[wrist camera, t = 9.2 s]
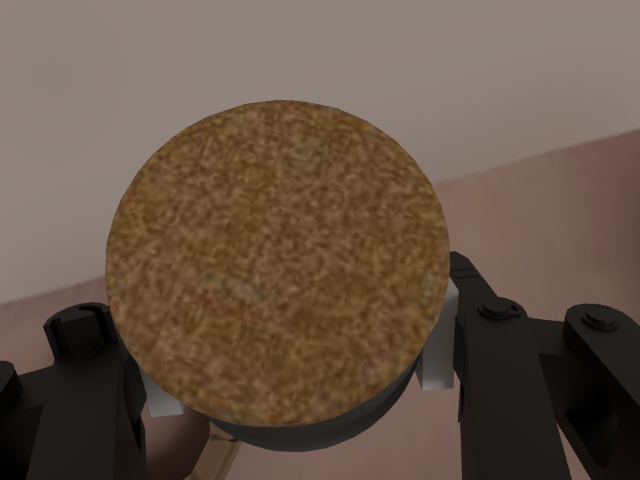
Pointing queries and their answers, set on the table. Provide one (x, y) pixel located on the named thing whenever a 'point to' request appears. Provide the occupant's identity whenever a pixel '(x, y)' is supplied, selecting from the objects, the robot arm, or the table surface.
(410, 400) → the table surface
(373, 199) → the bottle
